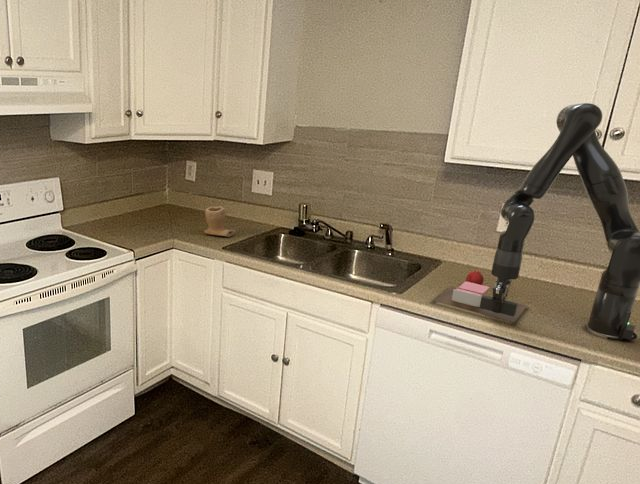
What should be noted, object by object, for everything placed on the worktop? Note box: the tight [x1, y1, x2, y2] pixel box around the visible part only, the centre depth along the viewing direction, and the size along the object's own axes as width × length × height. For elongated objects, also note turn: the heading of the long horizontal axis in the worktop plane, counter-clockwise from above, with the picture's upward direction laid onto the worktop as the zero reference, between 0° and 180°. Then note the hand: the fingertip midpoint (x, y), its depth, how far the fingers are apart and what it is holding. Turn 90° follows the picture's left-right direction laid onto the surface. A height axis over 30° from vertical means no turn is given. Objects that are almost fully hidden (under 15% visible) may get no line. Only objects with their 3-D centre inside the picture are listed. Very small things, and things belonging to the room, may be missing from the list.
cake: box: [457, 281, 491, 296], centre depth 190 cm, size 8×9×4 cm
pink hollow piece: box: [204, 205, 237, 238], centre depth 267 cm, size 15×12×15 cm
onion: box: [465, 268, 484, 285], centre depth 200 cm, size 6×6×8 cm
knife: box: [452, 289, 519, 317], centre depth 177 cm, size 19×2×4 cm, turn 46°
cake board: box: [432, 286, 528, 324], centre depth 185 cm, size 25×20×1 cm
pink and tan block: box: [453, 289, 482, 307], centre depth 185 cm, size 8×3×4 cm, turn 45°
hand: (497, 310), depth 175 cm, fingers closed on knife, 2 cm apart
